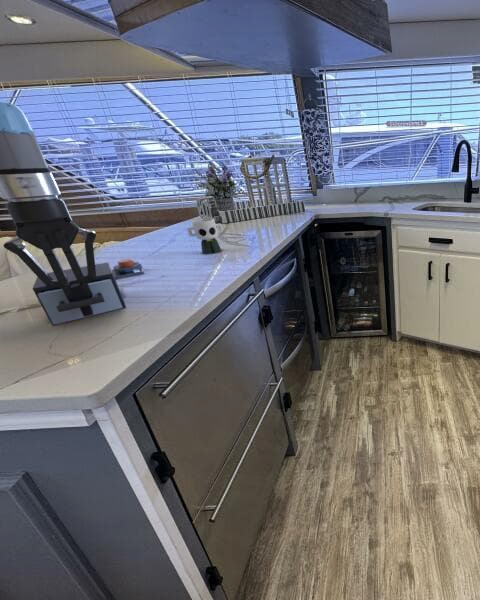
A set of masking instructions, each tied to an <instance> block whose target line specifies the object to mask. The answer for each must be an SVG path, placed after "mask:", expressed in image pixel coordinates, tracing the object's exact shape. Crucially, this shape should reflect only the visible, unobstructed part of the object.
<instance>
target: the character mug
mask: <svg viewBox="0 0 480 600" xmlns="http://www.w3.org/2000/svg"><path fill="white" fill-rule="evenodd" d="M191 224H192V226H189V227H187V232H188V235H189V237H190V238H191V237H195V238H196V239H197V240H201V242H200V246H201V252H202V254H203V255H213V254H217V253H220V252H222V249H221V246H220V244H219V242H218V240H217V239H216V238H218V237H219V234H220V233H223V232H224V228H223V225H222V223H221V222H220V223H216V221H215V219H214V218H201V219H195V220H192V221H191ZM217 227H219V229H218V228H217ZM192 231H194V232H192Z"/></svg>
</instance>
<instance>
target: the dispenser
mask: <svg viewBox="0 0 480 600" xmlns="http://www.w3.org/2000/svg"><path fill="white" fill-rule="evenodd" d="M80 267H81V269H82V272H83V274H84V275H86V274H88V270H87V265H86V266H80ZM95 269H96V278H95V279H93V280H91V281H94V280H99V279H104V278H108V279H111V281H112V284H113V286H114V288H115V291H116V293H117V296H118V298H119V300H120V303H121V305H122V308H120V309H116V310H112V311H108V312H104V313H100V314H96V315H92V316H88V317H84V318H80V319H76V320H72V321H68V322H63V323H59V324H55V325H53V323H52V321H51V319H50V317H49V315H48V313H47V311H46V310H45V308H44V306H43V304H42V302H41V300H40V298H39V296H38V293H43V292H44V291H45V290H48V289H53V288H57V287H53V288H49V287H47V286H46V285H45V284H44V283H43V282H42V281H41V280H40V279H39V278H38V277H37V276H36V279H35V282H34V284H33V287H32V291H33V292H34V294H35V297H36V298H37V300H38V301H39V304H40V306H41V308H42V309H43V311H44V313H45V315H46V317H47V319H48V320H49V322H50V325H51V326H52V327H53V326H57V325H62V324H65V323H69V322H73V321H78V320H82V319H86V318H91V317H93V316H98V315H102V314H106V313H109V312H113V311H118V310H122V309H126V308H127V306H126V303H125V300H124V297H123V295H122V292H121V290H120V287H119V285H118V282H117V280H115V278H114V275H113V273H112V270H113V269H111V266H110V262H103V263H102V262H101V263H95ZM63 270H64V273H65V275H66V277H67V279H68V281H69V284H70V285H72V284H77V283H78V281H77V279H76V277H75V275H74V273H73V271H72V269H71V268H68V269H63ZM47 273H48V274H49V275H50V276H51V277H52V278H53V279H54V280H57V278H56V276H55V274H54V272H53V271H51V272H47Z"/></svg>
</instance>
